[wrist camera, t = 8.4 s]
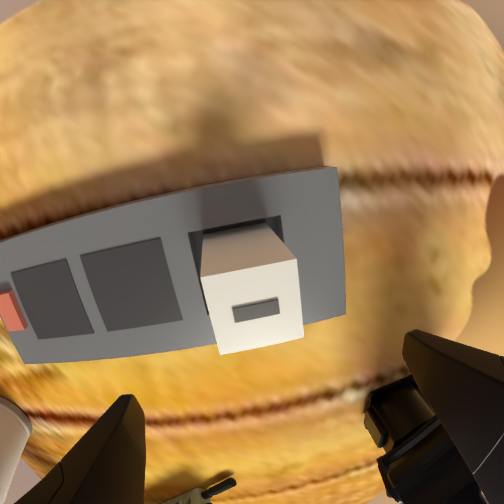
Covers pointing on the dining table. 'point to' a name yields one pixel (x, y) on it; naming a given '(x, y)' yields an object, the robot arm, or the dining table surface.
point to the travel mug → (11, 442)
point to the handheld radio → (202, 494)
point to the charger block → (250, 288)
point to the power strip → (161, 266)
